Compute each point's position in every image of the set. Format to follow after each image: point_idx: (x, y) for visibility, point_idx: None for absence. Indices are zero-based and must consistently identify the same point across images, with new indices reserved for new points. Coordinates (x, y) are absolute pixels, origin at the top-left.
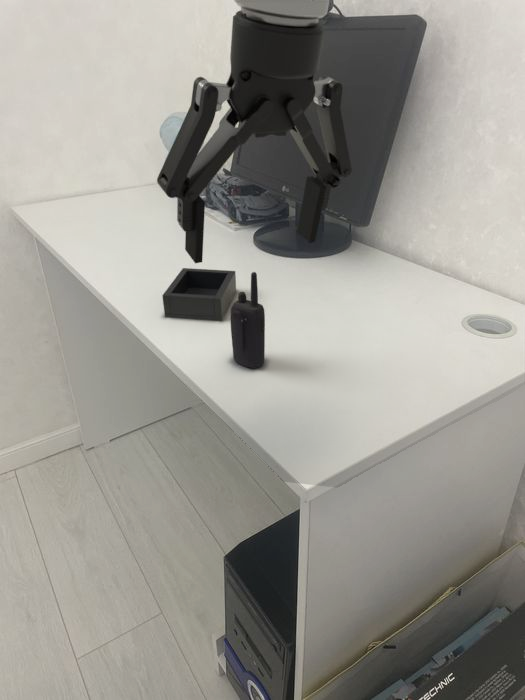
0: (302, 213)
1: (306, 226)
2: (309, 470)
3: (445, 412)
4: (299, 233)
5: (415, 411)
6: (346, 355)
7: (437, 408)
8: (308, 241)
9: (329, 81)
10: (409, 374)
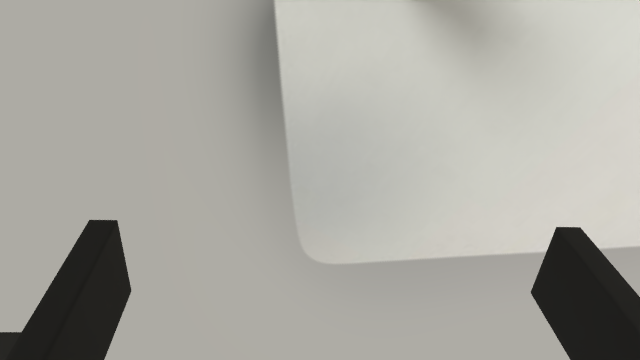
0: (596, 296)
1: (563, 301)
2: (320, 245)
3: None
4: (551, 242)
5: (534, 226)
6: (580, 34)
7: None
8: (534, 288)
9: None
10: (615, 149)
